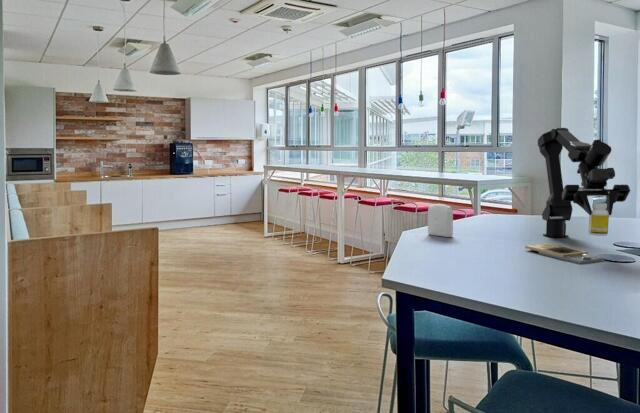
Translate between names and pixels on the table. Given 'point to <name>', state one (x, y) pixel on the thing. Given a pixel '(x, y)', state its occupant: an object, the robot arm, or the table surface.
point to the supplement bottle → (598, 220)
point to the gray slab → (571, 255)
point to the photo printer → (440, 220)
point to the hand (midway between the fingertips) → (600, 214)
